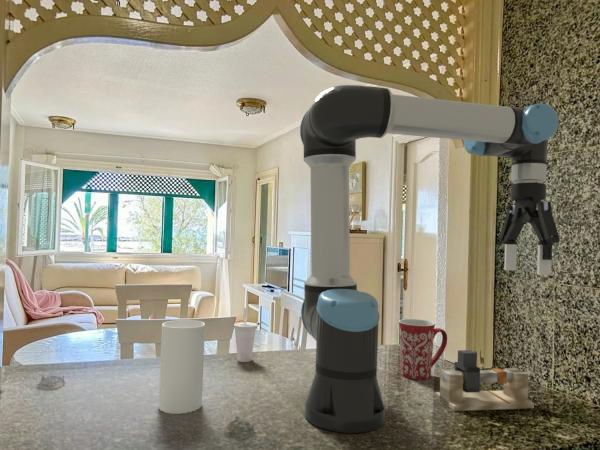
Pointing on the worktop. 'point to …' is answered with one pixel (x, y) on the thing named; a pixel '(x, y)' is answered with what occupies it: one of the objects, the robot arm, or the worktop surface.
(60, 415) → the worktop surface
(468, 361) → the dark grey sliding collar
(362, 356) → the robot arm
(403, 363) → the mug
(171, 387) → the cup
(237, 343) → the smoothie
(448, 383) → the rail
